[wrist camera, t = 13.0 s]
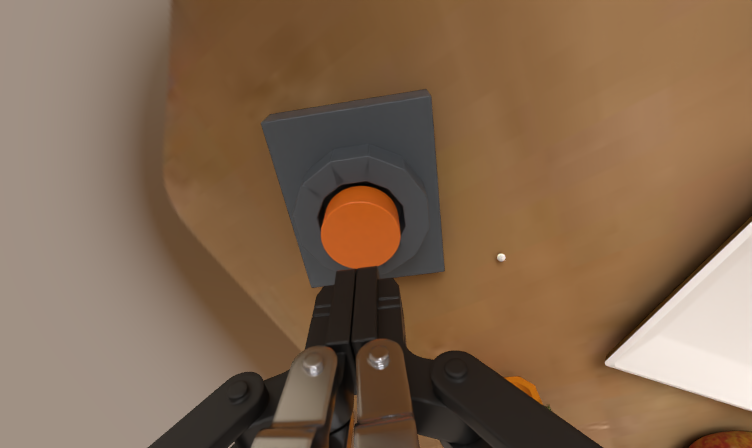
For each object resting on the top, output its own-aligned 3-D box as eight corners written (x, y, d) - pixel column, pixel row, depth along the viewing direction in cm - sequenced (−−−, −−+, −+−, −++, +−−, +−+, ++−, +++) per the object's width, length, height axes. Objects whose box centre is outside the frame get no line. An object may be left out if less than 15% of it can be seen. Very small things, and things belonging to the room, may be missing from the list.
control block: (269, 114, 18) (248, 133, 15) (426, 88, 18) (437, 103, 15) (315, 271, 23) (306, 309, 20) (440, 255, 23) (450, 292, 20)
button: (317, 191, 17) (312, 207, 16) (393, 179, 17) (395, 196, 15) (333, 253, 19) (329, 274, 17) (402, 244, 19) (405, 265, 17)
